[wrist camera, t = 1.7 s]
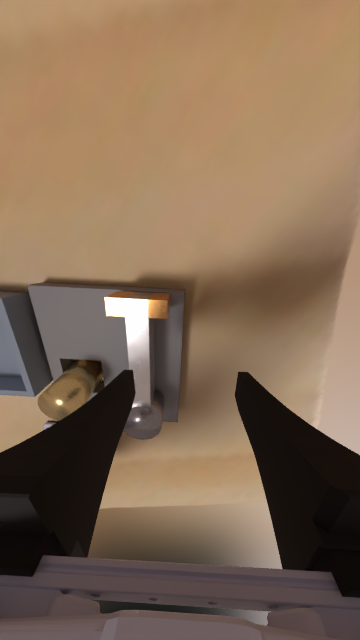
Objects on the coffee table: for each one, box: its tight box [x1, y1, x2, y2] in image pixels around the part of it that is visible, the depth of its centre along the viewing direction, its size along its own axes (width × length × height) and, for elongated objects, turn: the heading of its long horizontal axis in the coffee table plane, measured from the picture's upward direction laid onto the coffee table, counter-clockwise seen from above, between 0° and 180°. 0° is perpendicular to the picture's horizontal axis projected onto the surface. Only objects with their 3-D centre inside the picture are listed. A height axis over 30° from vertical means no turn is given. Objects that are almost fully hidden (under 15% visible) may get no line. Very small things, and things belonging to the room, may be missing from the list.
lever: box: [105, 291, 170, 439], centre depth 18 cm, size 16×5×4 cm, turn 178°
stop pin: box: [38, 359, 103, 421], centre depth 20 cm, size 4×4×6 cm
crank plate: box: [27, 282, 185, 422], centre depth 21 cm, size 18×16×2 cm
